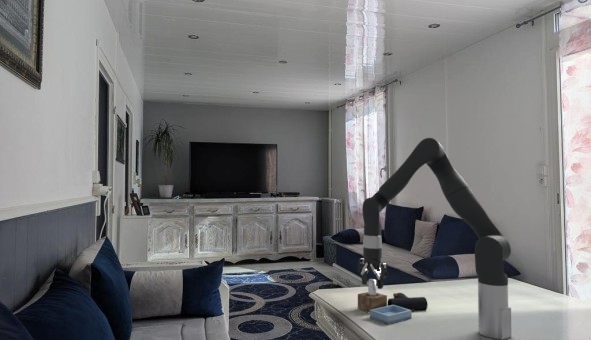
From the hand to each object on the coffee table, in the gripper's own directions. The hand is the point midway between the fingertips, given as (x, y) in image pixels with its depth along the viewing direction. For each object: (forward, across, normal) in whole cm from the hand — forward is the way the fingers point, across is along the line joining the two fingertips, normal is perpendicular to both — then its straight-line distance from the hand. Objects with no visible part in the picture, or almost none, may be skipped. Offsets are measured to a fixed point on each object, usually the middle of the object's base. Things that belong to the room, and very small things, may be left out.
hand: (372, 286), depth 163 cm
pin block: (+9, 0, 0) cm, 9 cm away
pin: (+9, 0, 0) cm, 9 cm away
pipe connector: (+10, -5, -14) cm, 17 cm away
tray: (+9, -12, +2) cm, 15 cm away
